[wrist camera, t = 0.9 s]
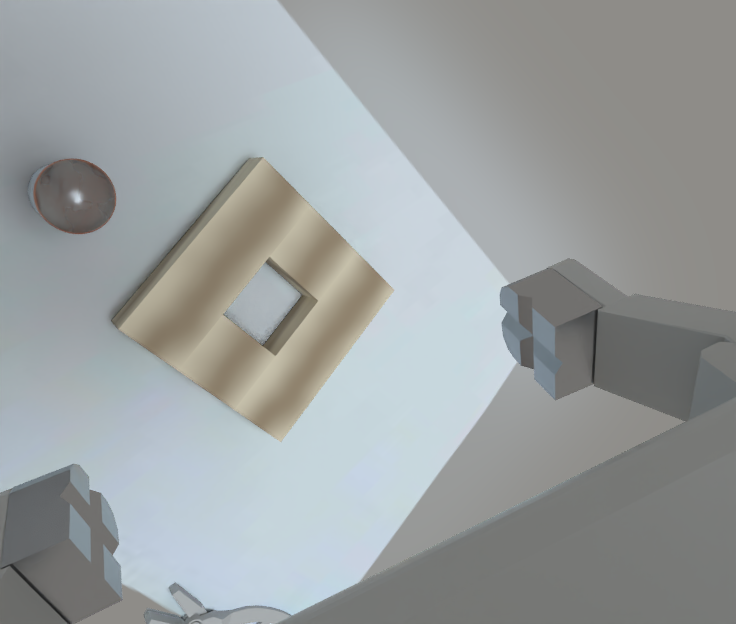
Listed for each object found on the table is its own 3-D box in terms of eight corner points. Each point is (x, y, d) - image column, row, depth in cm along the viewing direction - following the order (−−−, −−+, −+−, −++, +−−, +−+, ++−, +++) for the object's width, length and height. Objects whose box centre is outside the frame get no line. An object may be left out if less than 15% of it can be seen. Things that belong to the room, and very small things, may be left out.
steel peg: (12, 195, 40) (16, 199, 32) (55, 149, 41) (69, 142, 33) (67, 236, 42) (83, 249, 35) (107, 191, 43) (131, 194, 35)
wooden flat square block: (111, 320, 45) (118, 329, 42) (249, 158, 48) (263, 157, 45) (267, 429, 53) (280, 442, 50) (376, 285, 56) (394, 290, 53)
